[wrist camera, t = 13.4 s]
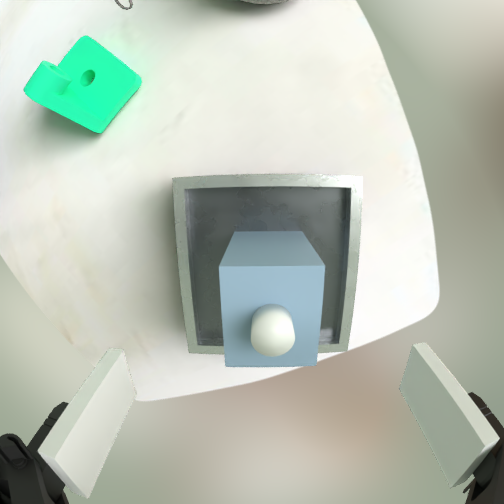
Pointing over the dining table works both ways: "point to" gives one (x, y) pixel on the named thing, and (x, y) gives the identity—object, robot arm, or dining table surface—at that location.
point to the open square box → (266, 219)
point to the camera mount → (84, 85)
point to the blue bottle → (271, 299)
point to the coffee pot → (252, 0)
